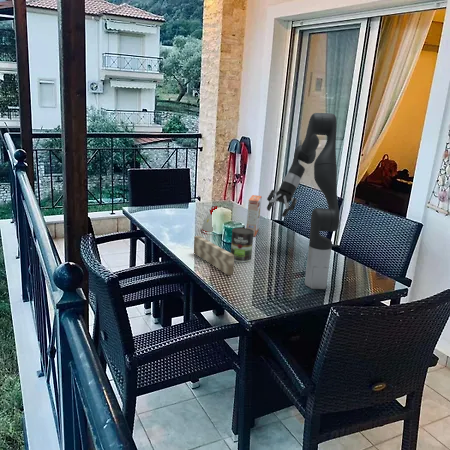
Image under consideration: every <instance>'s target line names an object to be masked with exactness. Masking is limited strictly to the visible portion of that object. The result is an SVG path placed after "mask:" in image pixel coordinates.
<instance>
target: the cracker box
mask: <svg viewBox="0 0 450 450" xmlns="http://www.w3.org/2000/svg"><path fill="white" fill-rule="evenodd" d="M247 204H248V205H247V215H246V226H245V228H248V229H251V230H253V231H254V234H253V238H254V237H256V236H257V234H258V233H259V230H260V229H259V226H260V217H261V208H262V207H261V206H262V195H256V194H252V195H251V196H250V198H249V199H248V203H247Z"/></svg>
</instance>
